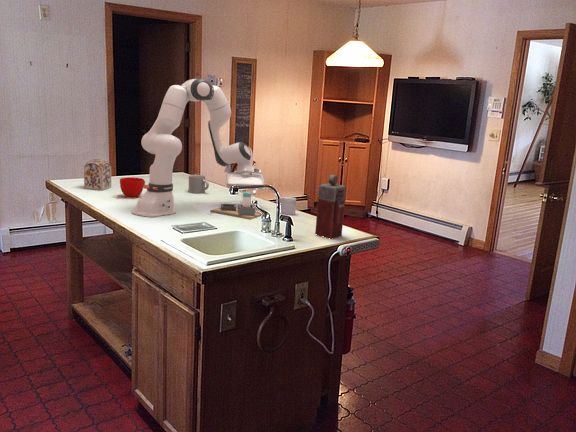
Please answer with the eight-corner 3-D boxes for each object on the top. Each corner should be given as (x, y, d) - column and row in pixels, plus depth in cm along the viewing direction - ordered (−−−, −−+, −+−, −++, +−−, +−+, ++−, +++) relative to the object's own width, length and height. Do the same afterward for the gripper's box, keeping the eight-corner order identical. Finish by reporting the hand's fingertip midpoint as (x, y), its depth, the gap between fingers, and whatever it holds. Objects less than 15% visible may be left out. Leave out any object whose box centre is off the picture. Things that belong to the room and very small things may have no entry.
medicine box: (295, 214, 280) (296, 198, 278) (293, 215, 276) (294, 199, 274) (281, 212, 282) (282, 196, 280) (278, 213, 278) (279, 197, 276)
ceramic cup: (153, 195, 302) (153, 178, 299) (133, 200, 286) (133, 182, 284) (135, 192, 307) (135, 175, 304) (114, 196, 292) (114, 179, 289)
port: (254, 215, 265) (255, 208, 264) (238, 215, 264) (239, 207, 263) (253, 212, 273) (253, 204, 272) (237, 211, 271) (238, 204, 271)
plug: (250, 214, 267) (251, 193, 264) (242, 214, 266) (243, 193, 264) (249, 212, 270) (250, 191, 268) (241, 212, 270) (242, 191, 267)
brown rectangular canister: (335, 240, 233) (340, 177, 227) (314, 234, 240) (319, 174, 234) (346, 236, 240) (351, 176, 234) (326, 231, 247) (331, 172, 241)
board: (250, 219, 261) (250, 217, 260) (210, 212, 271) (210, 210, 271) (263, 214, 273) (264, 212, 273) (225, 207, 283) (225, 206, 283)
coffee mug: (185, 191, 321) (185, 175, 318) (197, 190, 328) (197, 174, 326) (199, 195, 313) (200, 178, 310) (212, 193, 320) (212, 177, 318)
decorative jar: (102, 190, 306) (101, 160, 302) (83, 189, 307) (83, 158, 304) (112, 187, 317) (111, 158, 313) (94, 185, 319) (93, 156, 315)
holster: (235, 211, 273) (235, 207, 272) (221, 210, 272) (221, 206, 271) (235, 207, 280) (235, 204, 279) (221, 207, 279) (221, 203, 278)
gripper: (226, 168, 281) (226, 189, 274) (264, 170, 284) (265, 191, 277) (225, 175, 286) (225, 196, 279) (263, 177, 289) (263, 198, 282)
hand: (245, 194), depth 278 cm, fingers open, 8 cm apart
